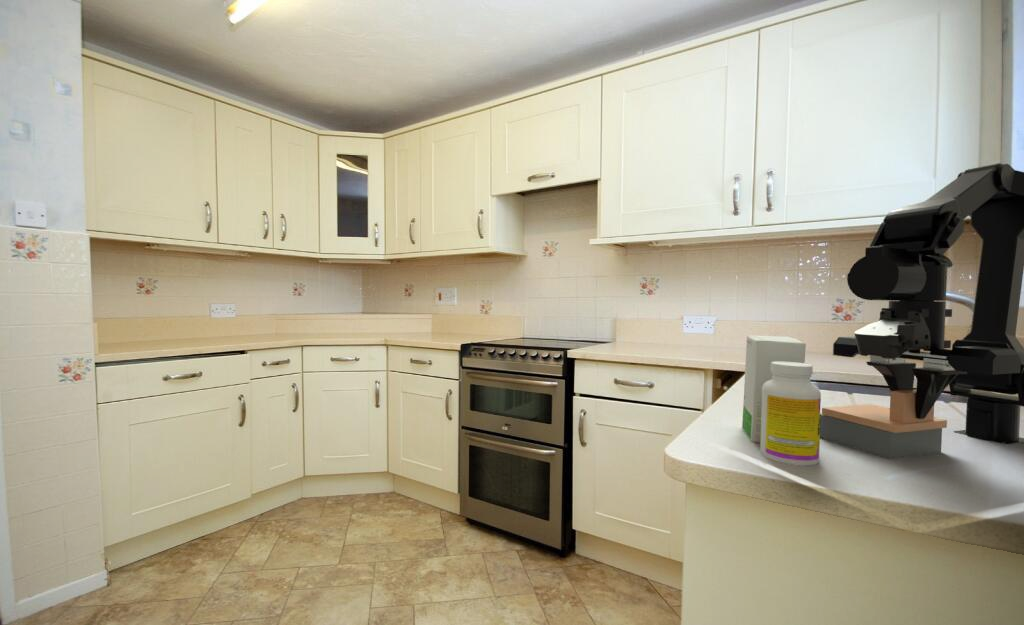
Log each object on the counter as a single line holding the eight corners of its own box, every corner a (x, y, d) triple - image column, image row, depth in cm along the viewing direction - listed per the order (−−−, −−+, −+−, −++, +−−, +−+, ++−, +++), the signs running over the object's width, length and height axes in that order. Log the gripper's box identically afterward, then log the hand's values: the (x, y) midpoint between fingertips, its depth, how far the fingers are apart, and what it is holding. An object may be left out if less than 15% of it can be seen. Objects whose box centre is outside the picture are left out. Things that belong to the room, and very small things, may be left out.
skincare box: (741, 430, 74) (744, 334, 73) (787, 434, 72) (791, 336, 71) (751, 446, 66) (754, 338, 65) (803, 451, 64) (807, 340, 63)
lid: (869, 410, 71) (870, 378, 71) (946, 427, 62) (948, 391, 62) (821, 414, 68) (822, 381, 68) (895, 433, 59) (896, 394, 59)
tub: (865, 435, 72) (866, 409, 72) (940, 456, 62) (942, 427, 62) (817, 440, 69) (818, 414, 69) (889, 463, 59) (890, 432, 59)
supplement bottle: (828, 472, 56) (832, 368, 56) (770, 467, 57) (773, 366, 57) (805, 454, 63) (808, 361, 62) (753, 450, 64) (755, 359, 64)
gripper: (806, 300, 67) (803, 404, 68) (963, 301, 50) (957, 442, 50) (861, 300, 71) (857, 400, 71) (1026, 302, 53) (1020, 435, 53)
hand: (911, 416), depth 61 cm, fingers closed on lid, 2 cm apart
